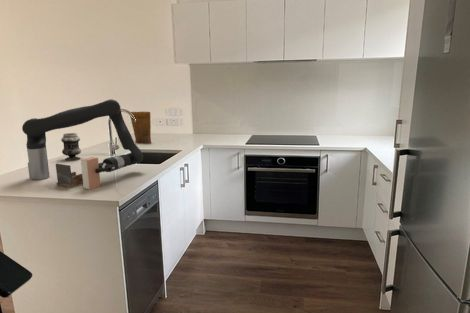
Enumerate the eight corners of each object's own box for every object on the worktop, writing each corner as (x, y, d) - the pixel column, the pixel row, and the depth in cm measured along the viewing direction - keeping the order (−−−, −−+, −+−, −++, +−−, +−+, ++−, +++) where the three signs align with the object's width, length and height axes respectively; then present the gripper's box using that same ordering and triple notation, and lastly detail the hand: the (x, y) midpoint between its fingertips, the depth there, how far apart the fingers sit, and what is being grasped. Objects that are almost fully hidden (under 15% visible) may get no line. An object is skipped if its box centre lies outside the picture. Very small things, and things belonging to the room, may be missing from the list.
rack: (76, 179, 187) (74, 159, 184) (89, 181, 182) (87, 161, 180) (56, 185, 176) (54, 164, 174) (70, 188, 172) (67, 166, 169)
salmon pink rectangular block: (94, 184, 177) (92, 157, 174) (100, 185, 176) (97, 157, 172) (83, 188, 171) (80, 159, 168) (89, 189, 169) (86, 160, 166)
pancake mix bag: (150, 144, 291) (148, 111, 285) (131, 143, 297) (128, 111, 291) (154, 143, 298) (152, 111, 292) (135, 141, 303) (133, 110, 297)
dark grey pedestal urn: (80, 160, 232) (78, 134, 228) (61, 161, 228) (58, 135, 224) (82, 156, 243) (80, 132, 239) (64, 158, 240) (61, 132, 236)
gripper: (103, 155, 187) (79, 161, 173) (123, 158, 181) (99, 164, 167) (104, 168, 189) (80, 175, 175) (124, 171, 183) (100, 179, 169)
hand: (89, 170), depth 171 cm, fingers open, 8 cm apart
